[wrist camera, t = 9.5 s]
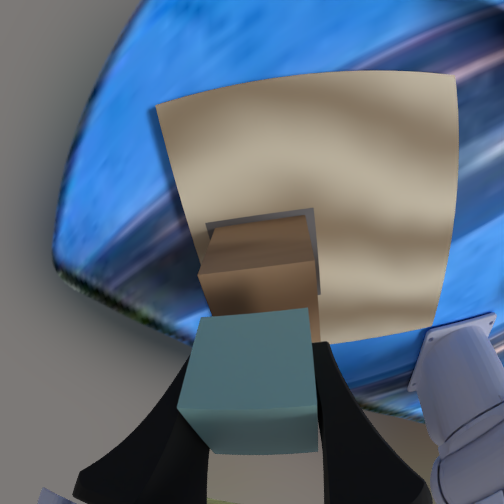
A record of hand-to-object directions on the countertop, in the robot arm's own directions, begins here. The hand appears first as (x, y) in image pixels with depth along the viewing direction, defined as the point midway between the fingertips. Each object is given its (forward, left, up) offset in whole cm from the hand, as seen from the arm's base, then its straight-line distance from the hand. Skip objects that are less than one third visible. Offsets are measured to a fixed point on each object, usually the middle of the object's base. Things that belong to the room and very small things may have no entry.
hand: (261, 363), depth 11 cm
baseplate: (+1, -4, -8) cm, 9 cm away
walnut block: (0, 0, -7) cm, 7 cm away
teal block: (0, 0, -1) cm, 1 cm away
